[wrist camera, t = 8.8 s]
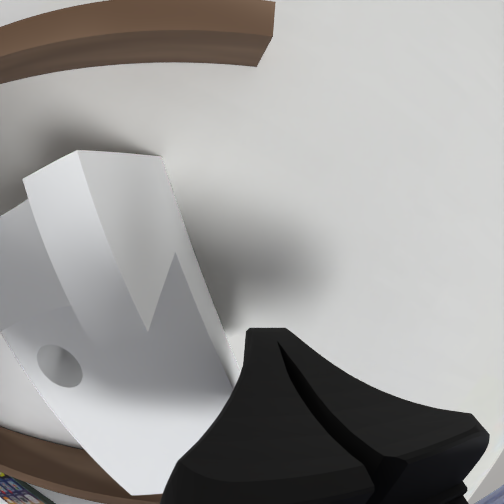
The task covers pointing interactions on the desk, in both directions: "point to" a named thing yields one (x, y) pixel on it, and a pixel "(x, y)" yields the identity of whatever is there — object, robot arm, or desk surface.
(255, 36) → the box
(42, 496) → the smartphone
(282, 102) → the desk surface
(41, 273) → the bracket
